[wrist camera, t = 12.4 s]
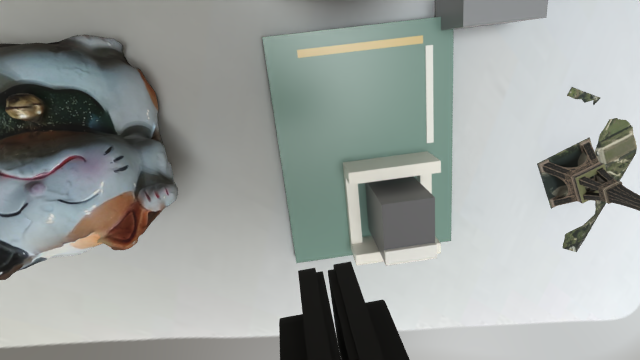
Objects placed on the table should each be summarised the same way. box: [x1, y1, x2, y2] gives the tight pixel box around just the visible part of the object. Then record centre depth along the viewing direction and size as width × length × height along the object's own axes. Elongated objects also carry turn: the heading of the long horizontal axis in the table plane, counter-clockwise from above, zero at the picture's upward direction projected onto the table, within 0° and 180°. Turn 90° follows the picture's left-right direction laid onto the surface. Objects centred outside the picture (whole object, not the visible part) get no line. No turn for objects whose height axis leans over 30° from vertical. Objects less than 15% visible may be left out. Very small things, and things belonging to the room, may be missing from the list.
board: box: [262, 17, 453, 265], centre depth 31 cm, size 20×15×4 cm
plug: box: [365, 176, 437, 266], centre depth 30 cm, size 5×4×6 cm
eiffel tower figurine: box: [537, 87, 640, 252], centre depth 30 cm, size 15×10×13 cm
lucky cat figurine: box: [0, 35, 178, 280], centre depth 25 cm, size 15×12×14 cm
